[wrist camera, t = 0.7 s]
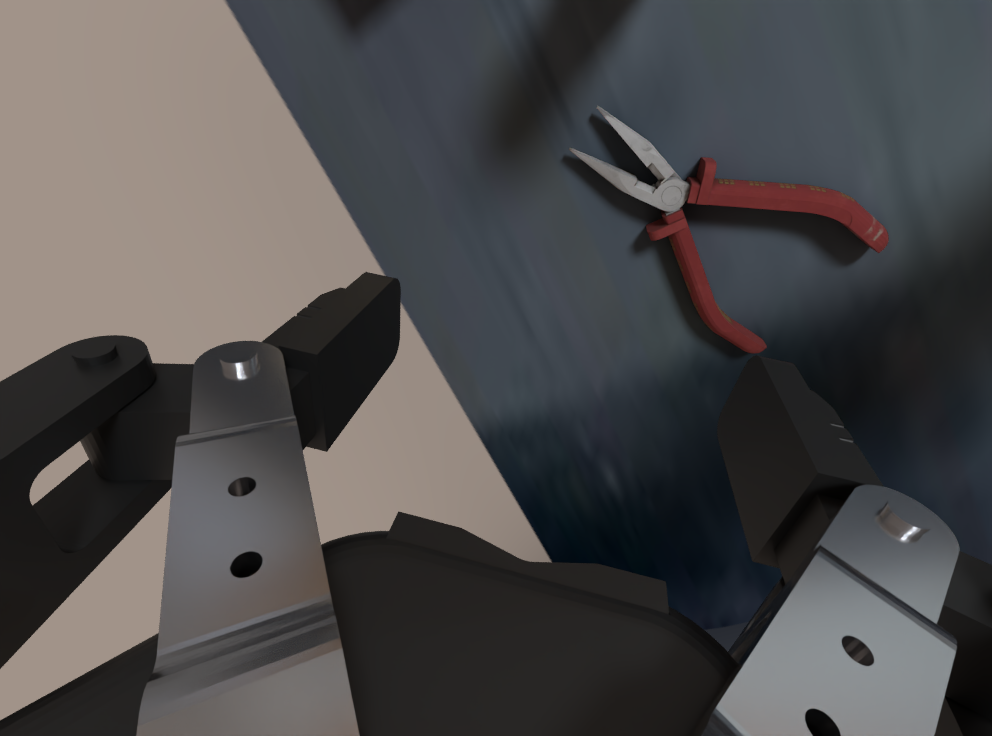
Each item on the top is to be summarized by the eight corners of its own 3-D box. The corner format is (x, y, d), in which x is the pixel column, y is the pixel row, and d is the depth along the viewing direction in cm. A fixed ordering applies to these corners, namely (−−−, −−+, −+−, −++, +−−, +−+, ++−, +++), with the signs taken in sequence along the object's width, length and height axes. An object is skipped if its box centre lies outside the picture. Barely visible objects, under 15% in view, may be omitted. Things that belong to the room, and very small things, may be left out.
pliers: (642, 33, 28) (646, 31, 26) (886, 227, 31) (908, 240, 29) (534, 201, 34) (529, 210, 32) (746, 348, 37) (755, 365, 35)
